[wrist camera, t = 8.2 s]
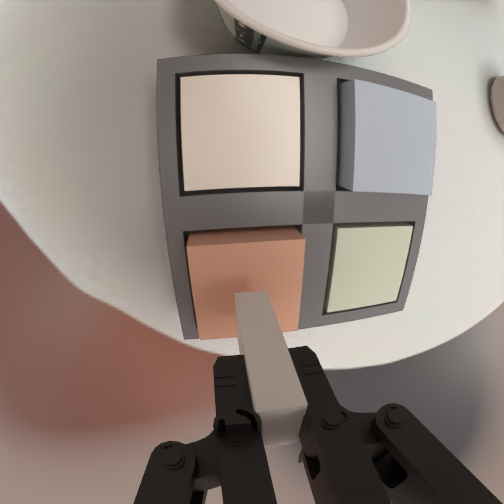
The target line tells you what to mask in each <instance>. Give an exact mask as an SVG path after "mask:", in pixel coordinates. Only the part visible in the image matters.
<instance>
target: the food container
mask: <svg viewBox="0 0 504 504" xmlns="http://www.w3.org/2000/svg"><path fill="white" fill-rule="evenodd" d="M214 1H215V2H216V3H217V5H218V7H219V10H220V13H221V16H222V18H223V21H224V23H225V25H226V27H227V28H228V30H229V31H230V33H231V34H232V35H233V36H234V37H235V38H236V39H237V40H238V41H239V42H241V43H242V44H243V45H245V46H246V47H248V48H249V49H251V50H253V51H254V52H256V53H259V54H266V55H281V56H292V57H301V58H309V59H321V58H325V57H330V56H337V57H365V56H371V55H375V54H379V53H382V52H385V51H387V50H389V49H391V48H393V47H394V46H395V45H397V44H398V43H399V42H400V41H401V40H402V39H403V38H404V36H405V35H406V33H407V31H408V29H409V26H410V23H411V16H412V9H411V2H410V0H214Z"/></svg>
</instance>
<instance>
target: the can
mask: <svg viewBox="0 0 504 504" xmlns="http://www.w3.org/2000/svg"><path fill="white" fill-rule="evenodd" d="M490 100H491V107H492V111H493V114H494V117H495V120H496V122H497V124H498V125H499V127H500V128H501V129H502V131H503V132H504V77H497V78H495V80H494V82H493V85H492V87H491V92H490Z"/></svg>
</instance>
